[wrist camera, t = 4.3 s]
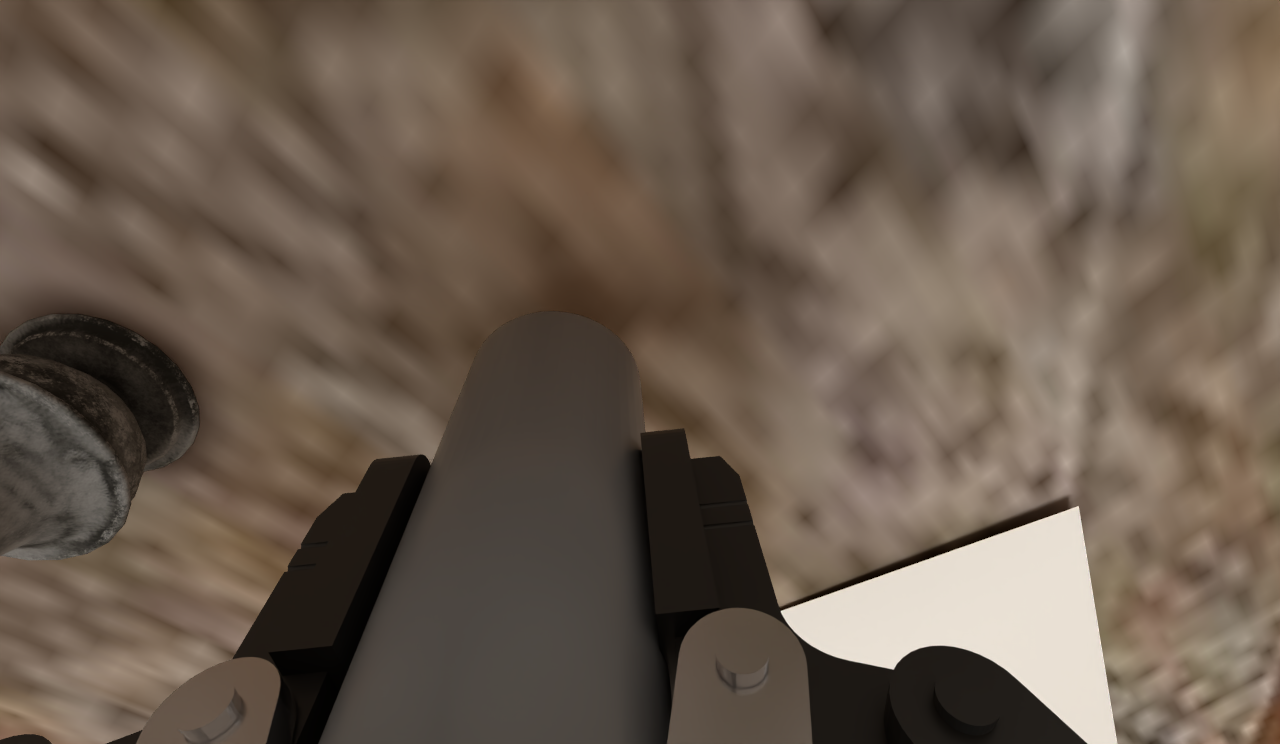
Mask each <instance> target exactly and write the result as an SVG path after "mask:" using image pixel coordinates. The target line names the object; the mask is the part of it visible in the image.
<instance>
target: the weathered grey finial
mask: <svg viewBox="0 0 1280 744" xmlns="http://www.w3.org/2000/svg"><path fill="white" fill-rule="evenodd" d="M198 429H199V407H198V404H197V401H196V398H195V396H194V393H193V390H192V387H191V386H190V384H189V383H188V381H187V380H186V378H185V377H184V375H183V374H182V372H181V371H180V369H179V368H178V367H177V366H176V365H175V364H174V363H173V362H172V361H171V360H170V359H169V358H168V357H167V356H166V355H165V354H164V353H163V352H162V351H161V350H160V349H159V348H158V347H156V346H154V345H153V344H151V343H150V342H148V341H147V340H145V339H144V338H142V337H141V336H139V335H138V334H136V333H135V332H133V331H131V330H128V329H126V328H124V327H121V326H119V325H117V324H114V323H112V322H110V321H107V320H103V319H99V318H94V317H90V316H85V315H81V314H51V315H47V316H43V317H39V318H35V319H31V320H29V321H27V322H25V323H24V324H22V325H20V326H19V327H17V328H16V329H14V330H13V331H11V332H10V333H9V334H8V336H7V337H6V339H5V340H4V342H3V343H2V345H1V346H0V556H6V557H12V558H18V559H24V560H61V559H66V558H70V557H75V556H79V555H84V554H88V553H90V552H91V551H93V550H95V549H97V548H99V547H101V546H103V545H104V544H106V543H108V542H109V541H110V540H111V539H112V538H113V537H114V536H115V535H116V534H117V532H118V531H119V530H120V529H121V528H122V527H123V525H124V524H125V522H126V519H127V516H128V513H129V509H130V506H131V500H132V499H133V498H134V497H135V494H136V492H137V489H138V486H139V483H140V480H141V477H142V474H143V472H144V471H149V470H153V469H157V468H162V467H165V466H166V465H168V464H170V463H172V462H173V461H175V460H177V459H179V458H180V457H181V456H182V455H183V454H184V453H185V452H186V451H187V450H188V449H189V447H190V446H191V445H192V444H193V443H194V440H195V437H196V434H197V432H198Z"/></svg>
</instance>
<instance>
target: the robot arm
mask: <svg viewBox="0 0 1280 744" xmlns="http://www.w3.org/2000/svg"><path fill="white" fill-rule="evenodd" d="M640 435H641V447H642V459H643V471H644V482H645V494H646V506H647V518H648V530H649V541H650V553H651V565H652V577H653V589H654V601H655V612H656V622H657V631H658V639H659V648H660V652H661V653H662V655H663V658H664V660H665V662H666V665H667V668H668V673H669V678H670V687H671V697H672V710H671V718H670V725H669V733H668V740H667V744H1087V743H1086V742H1085V741H1084V740H1083V739H1082V738H1081V737H1080V736H1079V735H1078V734H1076V733H1075V732H1074V731H1073V730H1072V729H1071V728H1070V727H1069V726H1068V725H1067V724H1065V723H1064V722H1063V721H1062V720H1061V719H1060V718H1059V717H1058V716H1057V715H1056V714H1055V713H1053V712H1052V711H1051V710H1050V709H1049V708H1048V707H1047V706H1046V705H1045V704H1044V703H1042V702H1041V701H1040V700H1039V699H1038V698H1037V697H1036V696H1035V695H1034V694H1033V693H1031V692H1030V691H1029V690H1028V689H1027V688H1026V687H1025V686H1024V685H1023V684H1022V683H1021V682H1019V681H1018V680H1017V679H1016V678H1015V677H1014V676H1013V675H1011V674H1010V673H1009V672H1008V671H1006V670H1005V669H1004V668H1002V667H1001V666H999V665H998V664H996V663H995V662H993V661H992V660H990V659H988V658H986V657H984V656H982V655H980V654H977V653H974V652H972V651H969V650H966V649H962V648H957V647H952V646H928V647H923V648H919V649H917V650H914V651H912V652H910V653H909V654H907V655H906V656H904V657H903V658H902V659H901V660H900V661H899V662H898V663H897V665H896V666H895V668H894V670H893V669H888V668H883V667H878V666H873V665H869V664H864V663H859V662H854V661H849V660H845V659H841V658H837V657H834V656H831V655H829V654H826V653H824V652H822V651H820V650H818V649H816V648H815V647H813V646H811V645H810V644H808V643H807V642H806V641H804V640H803V639H802V638H801V637H800V636H798V635H797V634H796V633H795V632H794V631H793V630H792V628H791V627H790V626H789V625H788V623H787V622H786V620H785V619H784V617H783V615H782V613H781V611H780V608H779V606H778V603H777V599H776V596H775V593H774V589H773V586H772V583H771V579H770V576H769V573H768V569H767V566H766V563H765V559H764V556H763V553H762V549H761V546H760V543H759V539H758V536H757V533H756V529H755V526H754V525H753V520H752V516H751V513H750V510H749V506H748V505H747V500H746V496H745V493H744V490H743V486H742V483H741V480H740V476H739V475H738V474H737V473H736V472H735V471H734V470H733V469H732V468H731V467H730V466H729V465H728V464H727V463H726V462H725V461H724V460H723V459H722V458H721V457H720V456H716V457H706V458H696V459H690V455H689V450H688V444H687V439H686V434H685V430H684V429H674V430H664V431H654V432H644V433H640ZM430 467H431V465H430V462H429V460H428V459H427V457H426V456H424V455H413V456H403V457H393V458H383V459H376V460H374V461H373V462H372V463H371V465H370V467H369V468H368V470H367V472H366V474H365V476H364V478H363V479H362V481H361V483H360V485H359V487H358V489H357V490H356V492H355V493H345V494H342V495H341V496H340V497H339V498H338V499H337V500H336V501H335V502H334V503H332V504H331V505H330V506H329V507H328V508H327V509H326V510H325V511H324V512H322V513H321V514H320V515H319V516H318V517H317V518H316V520H315V522H314V523H313V525H312V527H311V528H310V530H309V532H308V533H307V535H306V537H305V538H304V540H303V542H302V543H301V549H298V550H297V552H296V553H295V555H294V557H293V558H292V560H291V562H290V563H289V565H288V572H284V573H283V575H282V577H281V578H280V580H279V582H278V583H277V585H276V587H275V588H274V590H273V592H272V594H271V595H270V597H269V599H268V600H267V602H266V604H265V605H264V607H263V609H262V610H261V612H260V614H259V615H258V617H257V619H256V620H255V622H254V624H253V625H252V627H251V629H250V630H249V632H248V634H247V635H246V637H245V639H244V640H243V642H242V644H241V645H240V647H239V649H238V650H237V652H236V654H235V655H234V657H233V659H232V660H228V661H225V662H222V663H219V664H217V665H215V666H213V667H210V668H208V669H206V670H204V671H203V672H201V673H199V674H197V675H196V676H194V677H193V678H191V679H190V680H188V681H187V682H185V683H184V684H183V685H181V686H180V687H179V688H178V689H176V690H175V691H174V692H173V693H172V694H171V695H170V696H169V697H167V698H166V699H165V700H164V701H163V702H162V704H161V705H160V706H159V707H158V708H157V709H156V710H155V712H154V713H153V714H152V716H151V717H150V719H149V720H148V721H147V723H146V725H145V726H144V728H143V730H141V731H139V732H136V733H133V734H131V735H128V736H125V737H123V738H120V739H117V740H115V741H112V742H109V743H107V744H318V743H319V740H320V738H321V736H322V733H323V731H324V728H325V726H326V723H327V721H328V718H329V716H330V713H331V711H332V708H333V706H334V703H335V701H336V699H337V696H338V694H339V691H340V689H341V686H342V684H343V681H344V679H345V676H346V674H347V671H348V669H349V667H350V664H351V662H352V659H353V657H354V654H355V652H356V649H357V647H358V644H359V642H360V639H361V637H362V634H363V632H364V630H365V627H366V625H367V622H368V620H369V617H370V615H371V612H372V610H373V607H374V605H375V602H376V600H377V597H378V595H379V593H380V590H381V588H382V585H383V583H384V580H385V578H386V575H387V573H388V570H389V568H390V565H391V563H392V560H393V558H394V556H395V553H396V551H397V548H398V546H399V543H400V541H401V538H402V536H403V533H404V531H405V528H406V526H407V524H408V521H409V519H410V516H411V514H412V511H413V509H414V506H415V504H416V501H417V499H418V496H419V494H420V491H421V489H422V487H423V484H424V482H425V479H426V477H427V474H428V472H429V469H430ZM0 744H52V743H51V742H50V741H49V740H47V739H46V738H44V737H43V736H39V735H35V734H24V735H18V736H12V737H9V738H5V739H2V740H0Z"/></svg>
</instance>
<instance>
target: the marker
mask: <svg viewBox="0 0 1280 744" xmlns="http://www.w3.org/2000/svg"><path fill="white" fill-rule="evenodd" d="M644 432H645V422H644V412H643V402H642V392H641V382H640V376H639V371H638V368H637V365H636V362H635V360H634V358H633V356H632V354H631V352H630V351H629V349H628V348H627V347H626V345H625V344H624V343H623V342H622V341H621V340H620V339H619V337H618V336H616V335H615V334H614V333H613V332H612V331H610V330H609V329H608V328H606V327H605V326H603V325H601V324H600V323H598V322H596V321H594V320H591V319H589V318H586V317H583V316H580V315H577V314H572V313H567V312H557V311H549V312H538V313H532V314H528V315H524V316H521V317H518V318H516V319H514V320H511V321H509V322H507V323H506V324H504V325H502V326H501V327H499V328H498V329H497V330H496V331H494V332H493V333H492V334H491V335H490V336H489V337H488V338H487V339H486V340H485V341H484V343H483V344H482V346H481V347H480V349H479V350H478V352H477V354H476V356H475V358H474V361H473V363H472V366H471V368H470V371H469V373H468V376H467V378H466V381H465V383H464V385H463V388H462V390H461V393H460V395H459V398H458V400H457V403H456V405H455V408H454V410H453V413H452V415H451V417H450V420H449V422H448V425H447V427H446V430H445V432H444V435H443V437H442V440H441V442H440V445H439V447H438V450H437V452H436V454H435V457H434V459H433V462H432V464H431V467H430V469H429V472H428V474H427V477H426V479H425V482H424V484H423V487H422V489H421V491H420V494H419V496H418V499H417V501H416V504H415V506H414V509H413V511H412V514H411V516H410V519H409V521H408V524H407V526H406V528H405V531H404V533H403V536H402V538H401V541H400V543H399V546H398V548H397V551H396V553H395V556H394V558H393V560H392V563H391V565H390V568H389V570H388V573H387V575H386V578H385V580H384V583H383V585H382V588H381V590H380V593H379V595H378V597H377V600H376V602H375V605H374V607H373V610H372V612H371V615H370V617H369V620H368V622H367V625H366V627H365V630H364V632H363V634H362V637H361V639H360V642H359V644H358V647H357V649H356V652H355V654H354V657H353V659H352V662H351V664H350V667H349V669H348V671H347V674H346V676H345V679H344V681H343V684H342V686H341V689H340V691H339V694H338V696H337V699H336V701H335V703H334V706H333V708H332V711H331V713H330V716H329V718H328V721H327V723H326V726H325V728H324V731H323V733H322V736H321V738H320V740H319V743H318V744H667V740H668V733H669V725H670V718H671V710H672V697H671V687H670V678H669V673H668V668H667V665H666V662H665V660H664V658H663V655H662V653H661V652H660V648H659V639H658V631H657V622H656V612H655V601H654V589H653V577H652V565H651V553H650V541H649V530H648V518H647V506H646V494H645V482H644V471H643V459H642V447H641V435H640V433H644Z"/></svg>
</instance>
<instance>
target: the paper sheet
mask: <svg viewBox="0 0 1280 744" xmlns="http://www.w3.org/2000/svg"><path fill="white" fill-rule="evenodd" d="M781 613H782V615H783V617H784V619H785V620H786V622H787V623H788V625H789V626H790V627H791V628H792V630H793V631H794V632H795V633H796V634H797V635H798V636H800V637H801V638H802V639H803V640H804V641H806V642H807V643H808V644H810V645H811V646H813V647H815V648H816V649H818V650H820V651H822V652H824V653H826V654H829V655H831V656H834V657H837V658H841V659H845V660H849V661H854V662H859V663H864V664H869V665H873V666H878V667H883V668H888V669H893V670H894V668H895V666H896V665H897V663H898V662H899V661H900V660H901V659H902V658H903V657H904V656H906V655H907V654H909V653H910V652H912V651H914V650H917V649H919V648H923V647H928V646H952V647H957V648H962V649H966V650H969V651H972V652H974V653H977V654H980V655H982V656H984V657H986V658H988V659H990V660H992V661H993V662H995V663H996V664H998V665H999V666H1001V667H1002V668H1004V669H1005V670H1006V671H1008V672H1009V673H1010V674H1011V675H1013V676H1014V677H1015V678H1016V679H1017V680H1018V681H1019V682H1021V683H1022V684H1023V685H1024V686H1025V687H1026V688H1027V689H1028V690H1029V691H1030V692H1031V693H1033V694H1034V695H1035V696H1036V697H1037V698H1038V699H1039V700H1040V701H1041V702H1042V703H1044V704H1045V705H1046V706H1047V707H1048V708H1049V709H1050V710H1051V711H1052V712H1053V713H1055V714H1056V715H1057V716H1058V717H1059V718H1060V719H1061V720H1062V721H1063V722H1064V723H1065V724H1067V725H1068V726H1069V727H1070V728H1071V729H1072V730H1073V731H1074V732H1075V733H1076V734H1078V735H1079V736H1080V737H1081V738H1082V739H1083V740H1084V741H1085V742H1086V743H1087V744H1117V739H1116V733H1115V727H1114V721H1113V715H1112V708H1111V702H1110V696H1109V690H1108V684H1107V678H1106V671H1105V665H1104V659H1103V653H1102V647H1101V641H1100V635H1099V628H1098V622H1097V616H1096V610H1095V604H1094V598H1093V591H1092V585H1091V579H1090V573H1089V567H1088V561H1087V555H1086V548H1085V542H1084V536H1083V530H1082V524H1081V518H1080V512H1079V506H1078V507H1075V508H1072V509H1069V510H1066V511H1063V512H1061V513H1058V514H1055V515H1052V516H1049V517H1046V518H1044V519H1041V520H1038V521H1035V522H1032V523H1029V524H1027V525H1024V526H1021V527H1018V528H1015V529H1012V530H1009V531H1007V532H1004V533H1001V534H998V535H995V536H992V537H990V538H987V539H984V540H981V541H978V542H975V543H973V544H970V545H967V546H964V547H961V548H958V549H956V550H953V551H950V552H947V553H944V554H941V555H939V556H936V557H933V558H930V559H927V560H924V561H922V562H919V563H916V564H913V565H910V566H907V567H904V568H902V569H899V570H896V571H893V572H890V573H887V574H885V575H882V576H879V577H876V578H873V579H870V580H868V581H865V582H862V583H859V584H856V585H853V586H851V587H848V588H845V589H842V590H839V591H836V592H834V593H831V594H828V595H825V596H822V597H819V598H817V599H814V600H811V601H808V602H805V603H802V604H799V605H797V606H794V607H791V608H788V609H785V610H782V611H781Z"/></svg>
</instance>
